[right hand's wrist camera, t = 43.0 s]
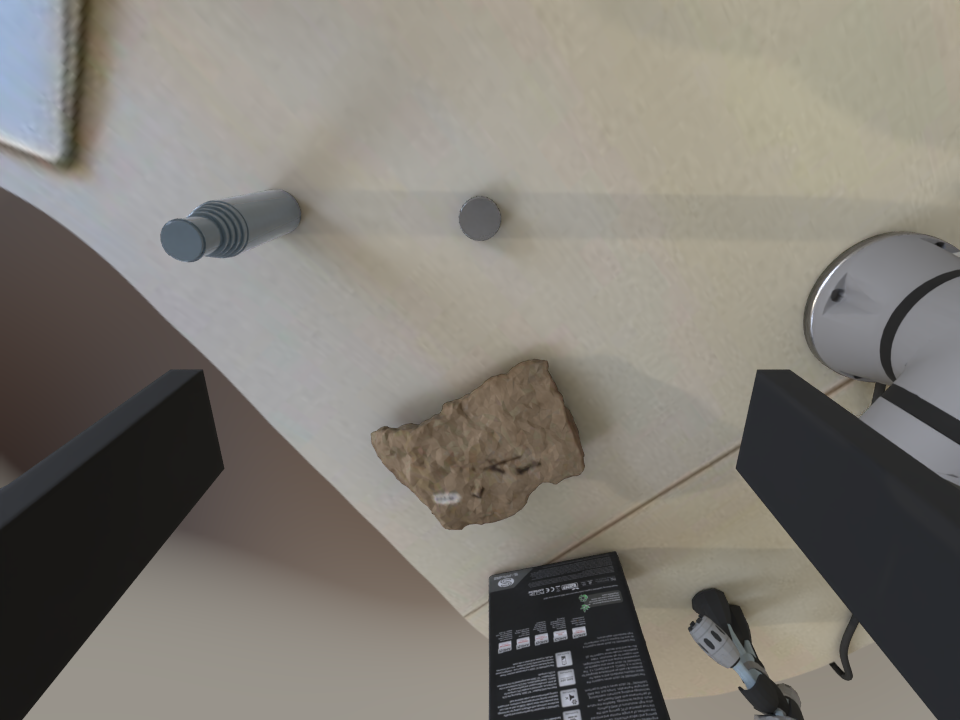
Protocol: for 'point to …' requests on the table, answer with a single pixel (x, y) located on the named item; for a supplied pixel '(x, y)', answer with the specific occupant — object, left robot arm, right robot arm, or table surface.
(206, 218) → the bottle
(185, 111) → the table surface
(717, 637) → the robot
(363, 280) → the table surface
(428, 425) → the stone
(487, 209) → the cap
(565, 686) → the graphics card box
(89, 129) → the table surface
